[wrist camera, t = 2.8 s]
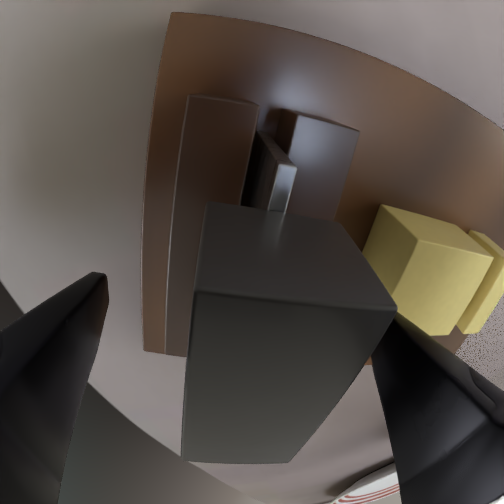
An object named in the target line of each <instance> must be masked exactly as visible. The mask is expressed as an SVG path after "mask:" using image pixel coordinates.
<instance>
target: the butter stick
mask: <svg viewBox="0 0 504 504" xmlns="http://www.w3.org/2000/svg"><path fill="white" fill-rule="evenodd" d="M362 254H363V255H364V257H365V258H366V260H367V261H368V262H369V264H370V265H371V267H372V268H373V270H374V271H375V273H376V274H377V276H378V277H379V279H380V280H381V282H382V283H383V285H384V286H385V288H386V289H387V291H388V292H389V294H390V295H391V297H392V298H393V300H394V301H395V303H396V304H397V306H398V311H397V312H399V313H400V314H401V315H403V316H404V317H405V318H407V319H408V320H410V321H411V322H412V323H414V324H415V325H416V326H418V327H419V328H420V329H422V330H423V331H424V332H426V333H427V334H428V335H430V336H435V335H449V334H450V332H451V331H452V329H453V328H454V326H455V325H456V323H457V322H458V320H459V318H460V317H461V315H462V314H463V312H464V311H465V309H466V307H467V306H468V304H469V302H470V301H471V299H472V297H473V296H474V294H475V292H476V290H477V289H478V287H479V285H480V283H481V282H482V280H483V278H484V276H485V274H486V272H487V270H488V268H489V267H490V265H491V263H492V261H493V259H494V258H493V256H492V255H491V254H489V253H488V252H487V251H486V250H485V249H484V248H483V247H482V246H480V245H479V244H478V243H477V242H476V241H475V240H473V239H472V238H471V237H470V236H469V235H468V234H466V233H465V232H464V231H463V230H462V229H460V228H459V227H458V226H457V225H454V224H451V223H448V222H444V221H441V220H438V219H434V218H431V217H427V216H424V215H420V214H417V213H413V212H409V211H406V210H402V209H398V208H394V207H391V206H387V205H383V204H380V207H379V209H378V212H377V215H376V218H375V220H374V223H373V226H372V228H371V231H370V234H369V236H368V239H367V241H366V244H365V246H364V249H363V251H362Z"/></svg>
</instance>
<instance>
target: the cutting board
mask: <svg viewBox="0 0 504 504" xmlns="http://www.w3.org/2000/svg"><path fill="white" fill-rule="evenodd" d="M256 131H264V132H267V133H268V134H269V135H270V136H271V138H272V139H273V140H274V141H275V142H276V143H277V144H278V146H279V147H280V148H281V149H282V150H283V152H284V153H285V154H286V155H287V156H288V157H289V159H290V160H291V161H292V162H293V163H294V165H295V166H296V167H297V171H296V175H295V178H294V182H293V186H292V190H291V194H290V198H289V201H288V205H287V209H286V213H288V214H294V215H300V216H305V217H311V218H317V219H322V220H327V221H333V222H338V223H340V224H341V225H342V226H343V228H344V229H345V230H346V232H347V233H348V234H349V236H350V237H351V238H352V240H353V241H354V243H355V244H356V245H357V247H358V248H359V250H360V251H361V252H362V251H363V249H364V246H365V244H366V241H367V239H368V236H369V234H370V231H371V228H372V226H373V223H374V220H375V218H376V215H377V212H378V209H379V207H380V204H383V205H387V206H391V207H394V208H398V209H402V210H406V211H409V212H413V213H417V214H420V215H424V216H427V217H431V218H434V219H438V220H441V221H444V222H448V223H451V224H454V225H457V226H458V227H459V228H460V229H462V230H463V231H464V232H465V233H466V234H468V233H469V231H470V230H473V231H476V232H479V233H482V234H485V235H486V236H487V237H488V238H490V239H491V240H492V241H493V242H494V243H496V244H497V245H498V246H499V247H500V248H501V249H503V250H504V130H503V129H501V128H500V127H499V126H497V125H496V124H494V123H493V122H492V121H490V120H489V119H487V118H486V117H485V116H483V115H482V114H480V113H479V112H477V111H476V110H474V109H473V108H471V107H469V106H468V105H466V104H465V103H463V102H461V101H460V100H458V99H457V98H455V97H453V96H451V95H450V94H448V93H446V92H445V91H443V90H441V89H439V88H437V87H436V86H434V85H432V84H430V83H428V82H426V81H424V80H423V79H421V78H419V77H417V76H415V75H413V74H411V73H408V72H406V71H404V70H402V69H400V68H398V67H396V66H394V65H391V64H389V63H387V62H384V61H382V60H380V59H377V58H375V57H372V56H370V55H368V54H365V53H362V52H360V51H357V50H354V49H352V48H349V47H346V46H343V45H340V44H338V43H335V42H331V41H328V40H325V39H322V38H319V37H315V36H312V35H309V34H305V33H301V32H298V31H294V30H290V29H286V28H282V27H277V26H273V25H268V24H264V23H259V22H254V21H248V20H242V19H236V18H230V17H223V16H215V15H206V14H196V13H184V12H172V13H171V15H170V19H169V23H168V28H167V32H166V36H165V41H164V46H163V50H162V55H161V60H160V66H159V71H158V77H157V82H156V88H155V94H154V101H153V108H152V115H151V122H150V130H149V138H148V147H147V157H146V167H145V179H144V192H143V209H142V232H141V312H142V334H143V350H144V351H148V352H154V353H161V354H166V355H173V356H180V357H187V347H188V336H189V326H190V316H191V306H192V297H193V288H194V280H195V273H196V265H197V258H198V251H199V244H200V238H201V231H202V224H203V218H204V212H205V206H206V203H207V202H209V201H212V202H219V203H226V204H233V205H239V206H241V202H242V197H243V192H244V188H245V183H246V178H247V173H248V168H249V163H250V159H251V154H252V149H253V145H254V140H255V135H256ZM468 335H469V334H463V333H462V332H461V331H460V329H459V328H458V326H457V325H455V326H454V328H453V329H452V331H451V332H450V334H449V335H435V336H431V337H432V338H434V339H435V340H436V341H438V342H439V343H440V344H442V345H443V346H444V347H446V348H447V349H448V350H450V351H451V352H452V353H453V354H455V353H456V351H457V350H458V349H459V347H460V346H461V345H462V343H463V342H464V340H465V339H466V338H467V336H468ZM365 365H372V361H371V356H370V357H369V359H368V360H367V362H366V363H365Z"/></svg>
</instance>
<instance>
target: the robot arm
mask: <svg viewBox="0 0 504 504" xmlns="http://www.w3.org/2000/svg"><path fill="white" fill-rule="evenodd" d="M108 305H109V292H108V280H107V276H106V274H104V273H98V272H91V273H89V274H88V275H86V276H84V277H83V278H81V279H79V280H78V281H76V282H74V283H73V284H71V285H70V286H68V287H66V288H65V289H63V290H62V291H60V292H58V293H57V294H55V295H54V296H52V297H51V298H49V299H47V300H46V301H44V302H43V303H41V304H40V305H38V306H37V307H35V308H34V309H32V310H30V311H29V312H27V313H26V314H24V315H23V316H21V317H20V318H19V319H17V320H16V321H14V322H13V323H11V324H10V325H8V326H7V327H5V328H4V329H3V330H2V331H0V504H58V498H59V493H60V487H61V483H60V482H61V481H62V475H63V471H64V466H65V462H66V457H67V453H68V449H69V445H70V441H71V437H72V433H73V429H74V425H75V421H76V418H77V414H78V411H79V407H80V403H81V400H82V397H83V393H84V390H85V387H86V384H87V381H88V378H89V375H90V372H91V369H92V366H93V363H94V360H95V357H96V354H97V350H98V346H99V342H100V337H101V333H102V329H103V325H104V321H105V317H106V313H107V309H108ZM371 361H372V367H373V372H374V376H375V380H376V384H377V388H378V392H379V396H380V400H381V404H382V408H383V412H384V416H385V420H386V424H387V429H388V433H389V438H390V442H391V447H392V452H393V456H394V461H395V467H396V472H397V477H398V483H399V485H400V486H399V489H400V495H401V502H402V504H504V391H503V390H501V389H500V388H498V387H497V386H495V385H494V384H493V383H491V382H490V381H489V380H487V379H486V378H485V377H483V376H482V375H481V374H479V373H478V372H477V371H475V370H474V369H473V368H472V367H470V366H469V365H468V364H466V363H465V362H464V361H463V360H461V359H460V358H459V357H457V356H456V355H455V354H453V353H452V352H451V351H450V350H448V349H447V348H446V347H444V346H443V345H442V344H440V343H439V342H438V341H436V340H435V339H434V338H432V337H431V336H430V335H428V334H427V333H426V332H424V331H423V330H422V329H420V328H419V327H418V326H416V325H415V324H414V323H412V322H411V321H410V320H408V319H407V318H405V317H404V316H403V315H401V314H400V313H399V312H397V313H396V315H395V316H394V318H393V320H392V322H391V323H390V325H389V327H388V328H387V330H386V332H385V333H384V335H383V337H382V338H381V340H380V342H379V343H378V345H377V346H376V348H375V350H374V351H373V353H372V354H371Z"/></svg>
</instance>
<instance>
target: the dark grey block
mask: <svg viewBox="0 0 504 504" xmlns="http://www.w3.org/2000/svg"><path fill="white" fill-rule="evenodd" d="M296 171H297V167H296V166H295V165H294V163H293V162H292V161H291V160H290V159H289V157H288V156H287V155H286V154H285V153H284V152H283V150H282V149H281V148H280V147H279V146H278V144H277V143H276V142H275V141H274V140H273V139H272V138H271V136H270V135H269V134H268V133H267V132H264V131H256V135H255V140H254V145H253V149H252V154H251V159H250V163H249V168H248V173H247V178H246V183H245V188H244V192H243V197H242V202H241V206H239V205H233V204H226V203H219V202H212V201H209V202H207V203H206V206H205V212H204V218H203V224H202V231H201V238H200V244H199V251H198V258H197V265H196V273H195V280H194V288H193V297H192V306H191V316H190V326H189V336H188V347H187V359H186V372H185V385H184V400H183V417H182V438H181V459H182V460H184V461H192V462H205V463H224V464H275V463H288V462H289V461H290V460H291V459H292V458H293V457H294V456H295V455H296V454H297V452H298V451H299V450H300V449H301V448H302V447H303V446H304V444H305V443H306V442H307V441H308V440H309V439H310V437H311V436H312V435H313V434H314V432H315V431H316V430H317V429H318V428H319V426H320V425H321V424H322V423H323V421H324V420H325V419H326V418H327V416H328V415H329V414H330V412H331V411H332V410H333V408H334V407H335V406H336V405H337V403H338V402H339V400H340V399H341V398H342V396H343V395H344V394H345V392H346V391H347V390H348V388H349V387H350V385H351V384H352V382H353V381H354V380H355V378H356V377H357V375H358V374H359V372H360V371H361V369H362V368H363V366H364V365H365V363H366V362H367V360H368V359H369V357H370V356H371V354H372V353H373V351H374V350H375V348H376V346H377V345H378V343H379V342H380V340H381V338H382V337H383V335H384V333H385V332H386V330H387V328H388V327H389V325H390V323H391V322H392V320H393V318H394V316H395V315H396V313H397V311H398V306H397V304H396V303H395V301H394V300H393V298H392V297H391V295H390V294H389V292H388V291H387V289H386V288H385V286H384V285H383V283H382V282H381V280H380V279H379V277H378V276H377V274H376V273H375V271H374V270H373V268H372V267H371V265H370V264H369V262H368V261H367V260H366V258H365V257H364V255H363V254H362V252H361V251H360V250H359V248H358V247H357V245H356V244H355V243H354V241H353V240H352V238H351V237H350V236H349V234H348V233H347V232H346V230H345V229H344V228H343V226H342V225H341V224H340V223H338V222H333V221H327V220H322V219H317V218H311V217H305V216H300V215H294V214H288V213H286V209H287V205H288V201H289V198H290V194H291V190H292V186H293V182H294V178H295V175H296Z"/></svg>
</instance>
